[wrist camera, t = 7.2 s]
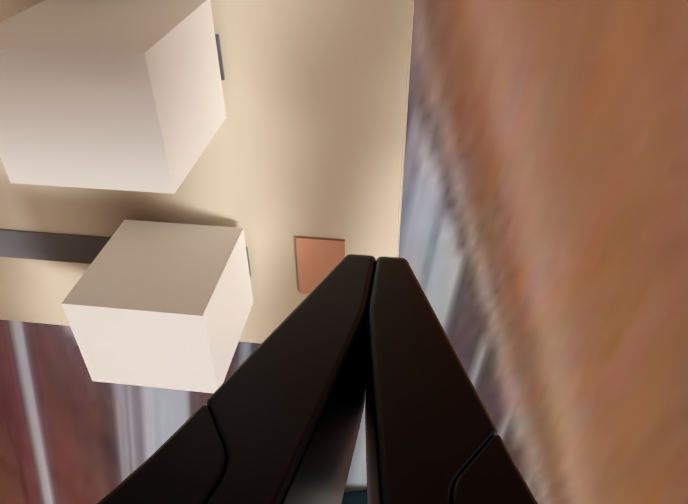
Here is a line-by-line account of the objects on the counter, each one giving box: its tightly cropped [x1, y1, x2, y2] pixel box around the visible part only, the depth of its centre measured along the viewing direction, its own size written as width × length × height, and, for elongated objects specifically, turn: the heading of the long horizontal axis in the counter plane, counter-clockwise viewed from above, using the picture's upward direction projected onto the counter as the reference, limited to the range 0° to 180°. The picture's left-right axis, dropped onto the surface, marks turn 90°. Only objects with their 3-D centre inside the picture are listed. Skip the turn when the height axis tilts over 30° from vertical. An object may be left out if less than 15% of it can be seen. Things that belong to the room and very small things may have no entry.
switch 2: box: [61, 220, 253, 393], centre depth 19 cm, size 4×3×4 cm
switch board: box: [0, 0, 414, 343], centre depth 17 cm, size 18×22×3 cm
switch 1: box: [0, 0, 226, 194], centre depth 14 cm, size 4×3×4 cm
